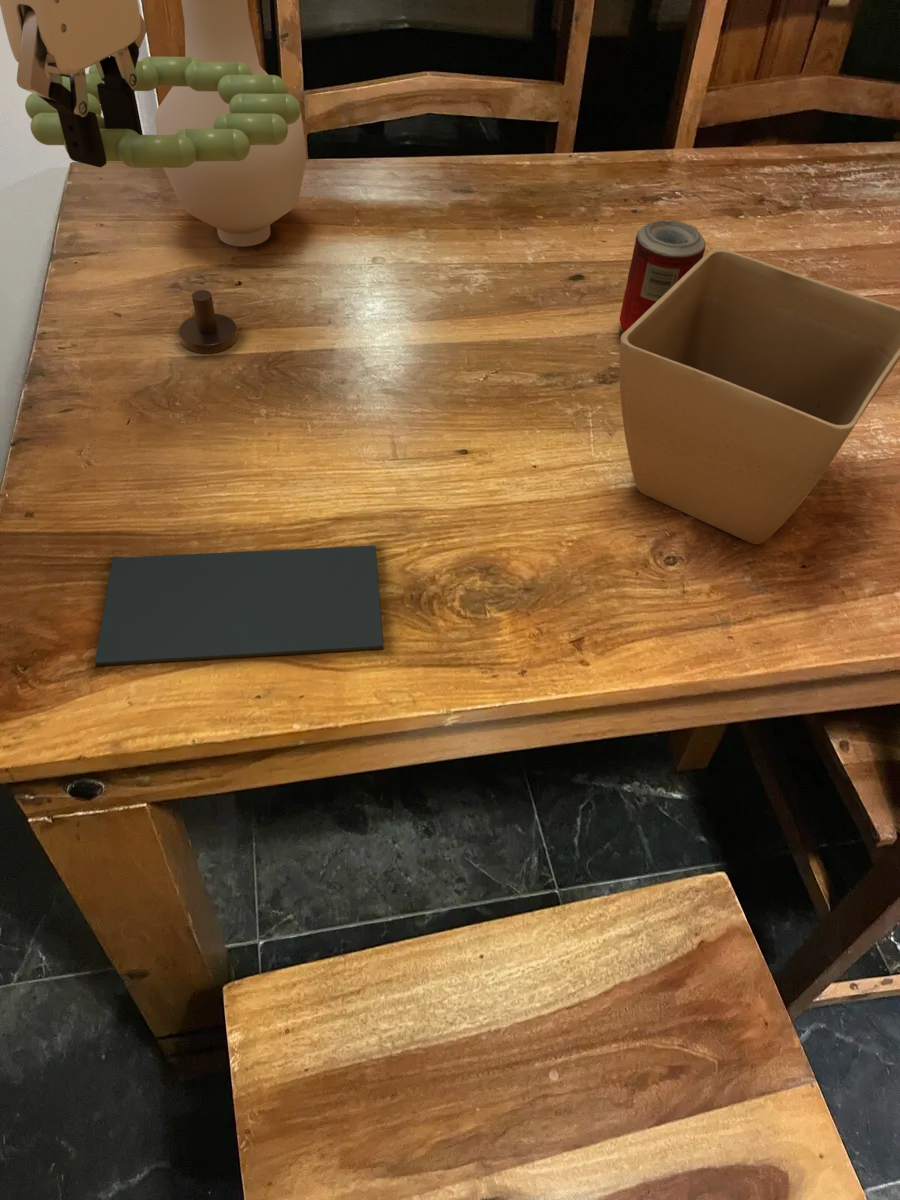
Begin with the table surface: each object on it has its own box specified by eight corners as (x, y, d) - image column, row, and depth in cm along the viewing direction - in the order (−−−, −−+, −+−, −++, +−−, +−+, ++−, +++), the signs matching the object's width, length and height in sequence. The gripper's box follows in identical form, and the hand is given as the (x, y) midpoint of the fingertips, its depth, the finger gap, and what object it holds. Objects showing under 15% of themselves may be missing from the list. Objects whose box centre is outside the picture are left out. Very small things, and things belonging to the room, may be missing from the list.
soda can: (682, 357, 101) (711, 251, 92) (617, 352, 101) (639, 246, 92) (677, 321, 106) (704, 217, 97) (615, 316, 106) (636, 212, 97)
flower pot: (583, 494, 86) (615, 337, 74) (674, 395, 97) (715, 242, 84) (777, 587, 80) (849, 432, 67) (851, 470, 90) (926, 316, 77)
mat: (95, 665, 71) (94, 662, 71) (113, 561, 78) (112, 557, 78) (383, 649, 74) (383, 645, 73) (375, 548, 81) (375, 545, 80)
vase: (332, 253, 112) (317, -15, 91) (198, 280, 107) (149, 3, 86) (285, 191, 122) (261, -64, 101) (160, 213, 117) (107, -50, 95)
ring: (8, 173, 74) (-1, 142, 72) (48, 79, 87) (40, 51, 85) (303, 172, 77) (301, 142, 75) (299, 81, 89) (298, 54, 88)
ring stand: (178, 354, 98) (169, 311, 94) (182, 321, 102) (174, 280, 98) (236, 352, 98) (229, 310, 95) (238, 320, 102) (232, 279, 98)
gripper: (77, -160, 68) (129, 105, 82) (-94, -112, 58) (-1, 182, 71) (165, -145, 67) (203, 122, 80) (6, -93, 56) (81, 204, 70)
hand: (107, 148), depth 76 cm, fingers closed on ring, 4 cm apart
